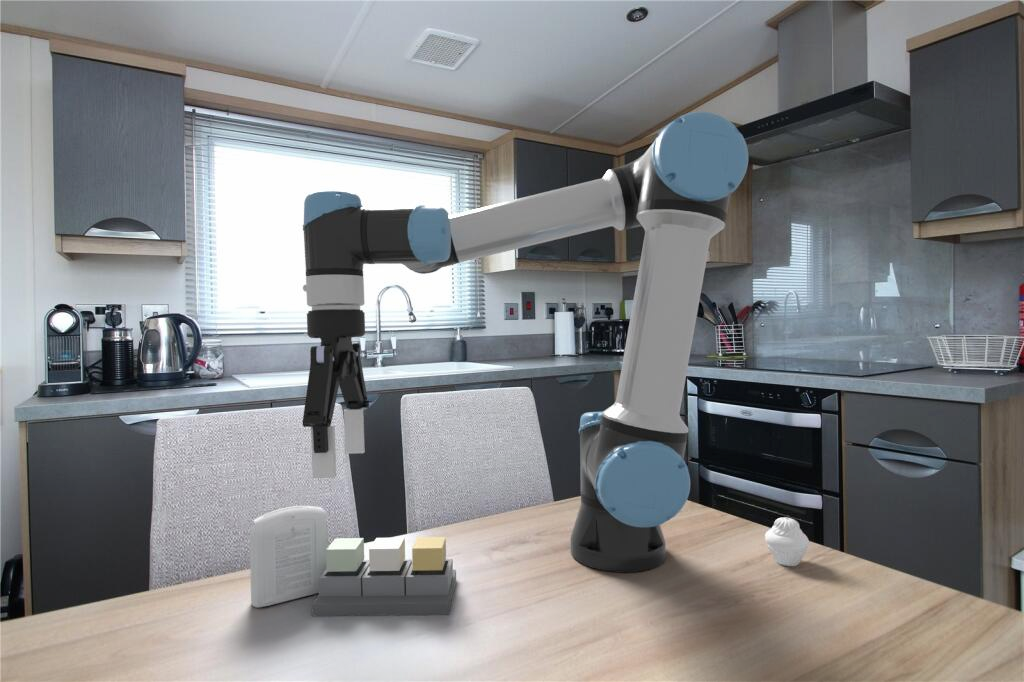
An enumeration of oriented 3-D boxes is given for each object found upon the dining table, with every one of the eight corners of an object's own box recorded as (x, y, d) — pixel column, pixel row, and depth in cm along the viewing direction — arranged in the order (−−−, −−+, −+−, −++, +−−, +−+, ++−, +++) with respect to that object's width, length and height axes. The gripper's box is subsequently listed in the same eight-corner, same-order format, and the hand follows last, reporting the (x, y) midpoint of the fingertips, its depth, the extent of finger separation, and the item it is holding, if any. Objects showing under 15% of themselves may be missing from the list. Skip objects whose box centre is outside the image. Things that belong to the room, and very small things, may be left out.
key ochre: (446, 557, 81) (445, 536, 81) (442, 570, 77) (442, 548, 77) (417, 558, 81) (417, 537, 81) (412, 570, 77) (412, 548, 77)
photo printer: (324, 580, 85) (322, 497, 84) (332, 591, 81) (330, 505, 81) (248, 600, 79) (245, 511, 79) (254, 612, 75) (251, 519, 75)
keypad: (456, 579, 84) (455, 552, 84) (447, 614, 74) (447, 584, 74) (336, 581, 84) (335, 554, 84) (312, 616, 74) (311, 585, 74)
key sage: (364, 558, 81) (363, 537, 81) (356, 571, 77) (355, 549, 77) (336, 559, 81) (335, 538, 81) (326, 571, 77) (326, 549, 77)
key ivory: (405, 558, 81) (404, 537, 81) (399, 570, 77) (398, 548, 77) (376, 558, 81) (376, 537, 81) (369, 571, 77) (369, 549, 77)
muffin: (796, 553, 91) (796, 510, 91) (817, 570, 85) (817, 523, 85) (757, 554, 91) (757, 511, 91) (776, 571, 85) (776, 524, 85)
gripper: (337, 311, 90) (341, 445, 91) (268, 306, 66) (275, 491, 66) (384, 309, 90) (388, 444, 91) (334, 305, 65) (340, 489, 66)
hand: (341, 464), depth 79 cm, fingers open, 13 cm apart
